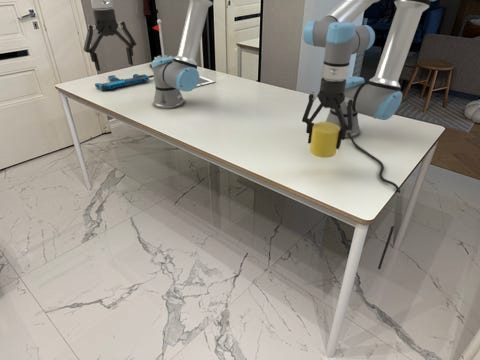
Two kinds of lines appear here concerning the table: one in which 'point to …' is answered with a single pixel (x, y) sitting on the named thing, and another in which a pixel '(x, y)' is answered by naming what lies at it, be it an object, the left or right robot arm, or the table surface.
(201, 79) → the tablet
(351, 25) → the right robot arm
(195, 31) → the left robot arm
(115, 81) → the submachine gun
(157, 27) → the flag stand
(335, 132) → the tin
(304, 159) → the table surface
